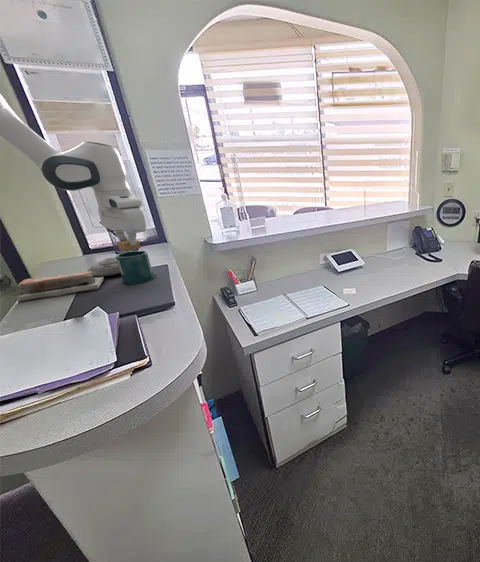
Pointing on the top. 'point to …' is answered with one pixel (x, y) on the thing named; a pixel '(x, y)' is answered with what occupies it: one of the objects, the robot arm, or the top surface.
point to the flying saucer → (105, 267)
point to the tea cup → (135, 267)
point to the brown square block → (125, 246)
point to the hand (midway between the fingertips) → (128, 243)
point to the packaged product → (57, 285)
